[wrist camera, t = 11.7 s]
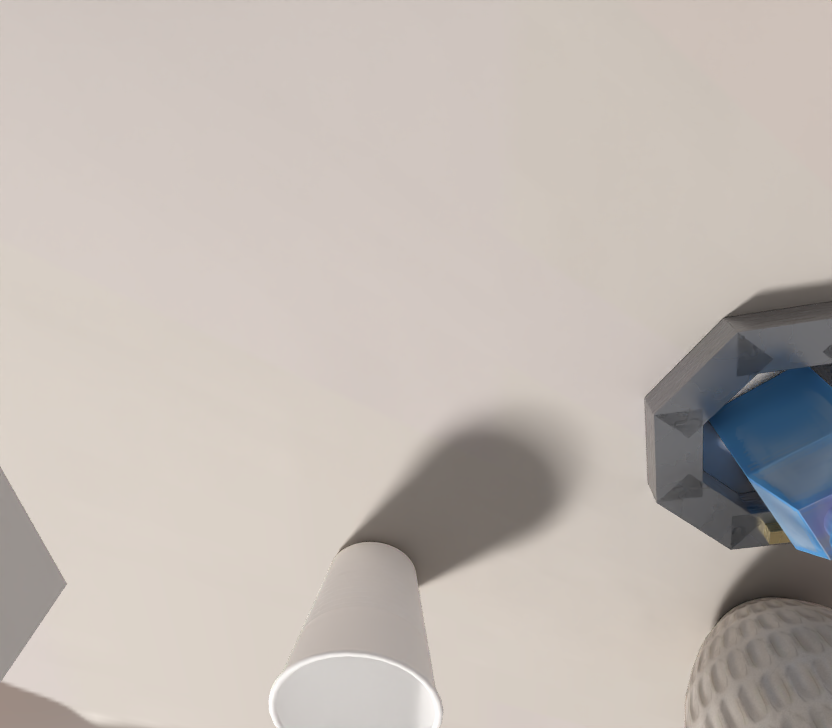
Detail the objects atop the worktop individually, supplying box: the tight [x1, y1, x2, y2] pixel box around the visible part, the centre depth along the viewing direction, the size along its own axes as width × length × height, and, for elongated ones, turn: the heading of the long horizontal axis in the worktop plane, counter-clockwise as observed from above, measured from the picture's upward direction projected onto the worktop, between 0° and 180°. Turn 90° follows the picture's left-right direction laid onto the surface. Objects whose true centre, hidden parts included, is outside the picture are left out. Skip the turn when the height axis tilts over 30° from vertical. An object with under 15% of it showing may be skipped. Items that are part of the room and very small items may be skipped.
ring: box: [645, 302, 832, 550], centre depth 39 cm, size 16×16×3 cm
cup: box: [268, 542, 443, 728], centre depth 42 cm, size 10×10×11 cm
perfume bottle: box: [709, 367, 832, 560], centre depth 35 cm, size 6×6×12 cm
